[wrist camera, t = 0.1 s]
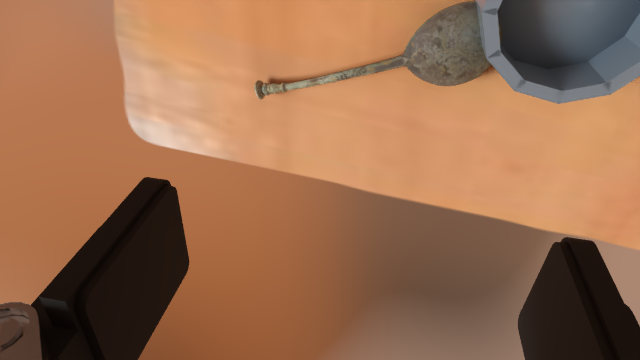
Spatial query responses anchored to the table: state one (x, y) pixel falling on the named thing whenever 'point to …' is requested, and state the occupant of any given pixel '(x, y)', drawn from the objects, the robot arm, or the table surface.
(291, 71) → the table surface
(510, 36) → the bowl
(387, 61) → the soupspoon
